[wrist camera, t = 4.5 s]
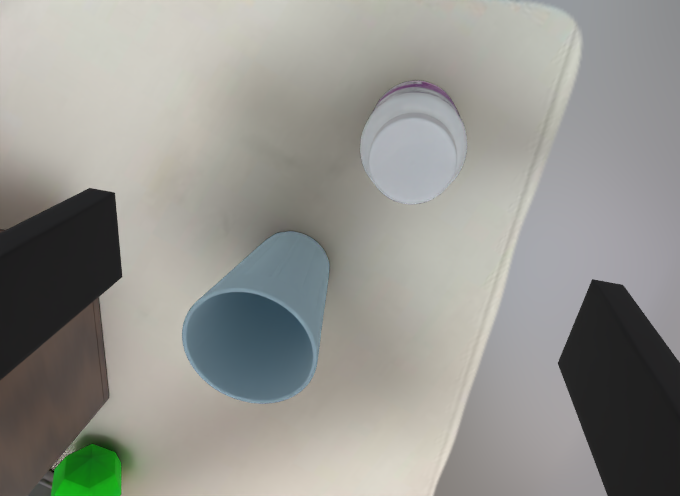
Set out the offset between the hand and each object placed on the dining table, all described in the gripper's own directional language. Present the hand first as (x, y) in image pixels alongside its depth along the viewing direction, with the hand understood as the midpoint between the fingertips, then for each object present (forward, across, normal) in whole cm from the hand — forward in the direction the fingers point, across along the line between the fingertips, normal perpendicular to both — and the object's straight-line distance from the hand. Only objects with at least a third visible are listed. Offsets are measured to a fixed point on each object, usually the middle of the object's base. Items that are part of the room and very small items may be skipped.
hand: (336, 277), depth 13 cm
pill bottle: (+20, -2, -1) cm, 20 cm away
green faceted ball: (+19, +23, +37) cm, 48 cm away
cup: (+20, +5, +11) cm, 23 cm away
